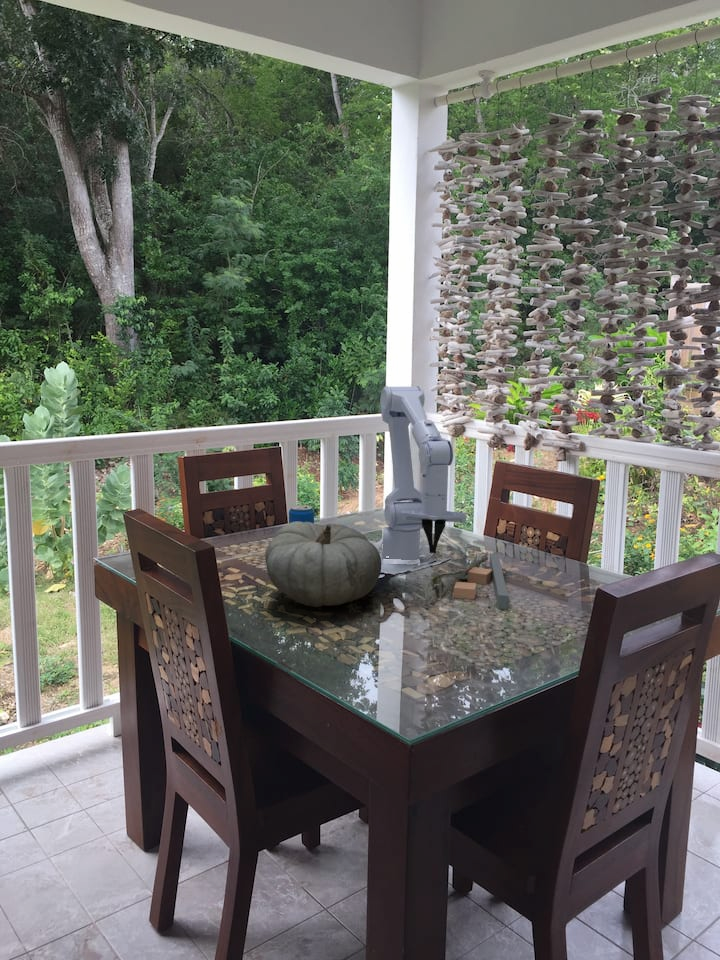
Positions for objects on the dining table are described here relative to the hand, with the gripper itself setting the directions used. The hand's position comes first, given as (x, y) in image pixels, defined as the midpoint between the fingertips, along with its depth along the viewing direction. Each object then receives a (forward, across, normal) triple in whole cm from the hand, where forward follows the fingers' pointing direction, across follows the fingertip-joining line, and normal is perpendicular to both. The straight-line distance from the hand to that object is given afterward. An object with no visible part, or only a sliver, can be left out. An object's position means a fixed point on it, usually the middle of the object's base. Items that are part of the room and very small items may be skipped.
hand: (432, 551), depth 188 cm
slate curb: (+7, +15, 0) cm, 17 cm away
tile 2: (+8, +11, +3) cm, 14 cm away
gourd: (+8, -24, -15) cm, 29 cm away
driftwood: (+8, +6, -1) cm, 10 cm away
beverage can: (+8, -34, +21) cm, 41 cm away
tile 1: (+8, +7, -8) cm, 13 cm away
